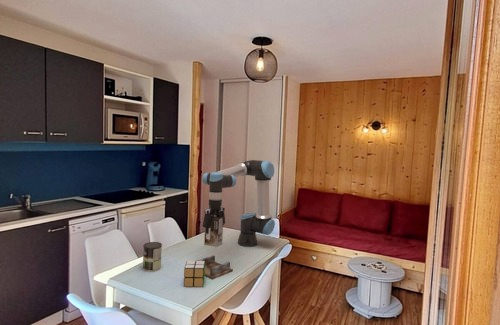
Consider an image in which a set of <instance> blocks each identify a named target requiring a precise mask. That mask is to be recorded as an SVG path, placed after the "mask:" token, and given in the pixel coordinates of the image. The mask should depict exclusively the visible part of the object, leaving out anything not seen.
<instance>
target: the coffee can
mask: <svg viewBox="0 0 500 325" xmlns="http://www.w3.org/2000/svg"><path fill="white" fill-rule="evenodd" d="M162 246H163V243H162V242H159V241H148V242H146V243H144V244H143V245H142V247H143V254H142V255H143V256H142V258H143V259H142V261H143V262H142V270H143V271H144V272H148V273H151V272H152V273H153V272H154V273H155V272H157V271H160V270H161V269H162Z"/></svg>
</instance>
